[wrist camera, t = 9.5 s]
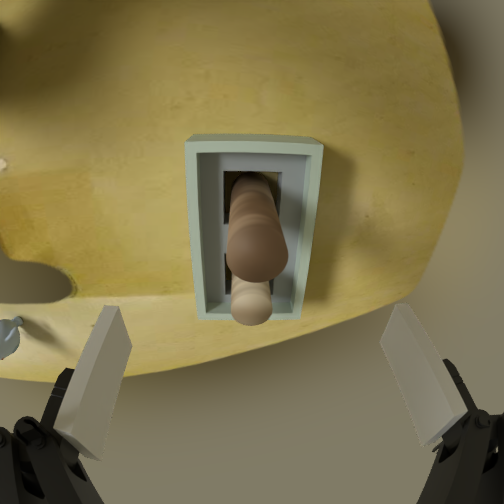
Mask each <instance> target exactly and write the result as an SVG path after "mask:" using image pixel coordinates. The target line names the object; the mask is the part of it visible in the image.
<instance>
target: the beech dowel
mask: <svg viewBox="0 0 504 504" xmlns="http://www.w3.org/2000/svg"><path fill="white" fill-rule="evenodd" d="M272 311H273V308H272V301H271V293H270V286H269V281H266V282H261V283H252V282H247V281H244V280H242V279H240V278H238V277H237V276H235V275H234V274H233V273H232V287H231V315H232V317H233V318H234V319H235V320H236V321H237V322H239V323H241V324H243V325H248V326H254V325H259V324H262V323H264V322H265V321H267V320H268V319H269V318H270V316H271V315H272Z"/></svg>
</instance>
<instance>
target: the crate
mask: <svg viewBox="0 0 504 504" xmlns="http://www.w3.org/2000/svg"><path fill="white" fill-rule="evenodd" d="M323 147H324V145H323V144H321V143H319V142H318V141H316V140H315V139H313V138H312V137H303V136H288V135H267V134H193V135H192V136H191V137H190V138H189V139H187V140H186V141H185V166H186V188H187V205H188V220H189V234H190V246H191V258H192V269H193V279H194V289H195V298H196V307H197V315H198V319H201V320H235V319H234V318H233V317H232V315H231V287H232V280H226V253H227V240H228V227H229V215H230V213H225V171H269V172H278V185H277V200H276V210H277V214H278V217H279V221H280V224H281V228H282V231H283V235H284V238H285V242H286V245H287V249H288V254H289V255H288V262H287V265H286V267H285V268H284V270H283V271H282V272H281V273H280V274H279V275H278V276H277V277H275V278H273V279H272V280H269V286H270V293H271V301H272V308H273V311H272V315H271V316H270V318H269V319H268V320H289V319H300V316H301V310H302V305H303V299H304V293H305V287H306V281H307V275H308V268H309V262H310V255H311V248H312V241H313V234H314V227H315V219H316V211H317V203H318V195H319V186H320V177H321V168H322V158H323Z"/></svg>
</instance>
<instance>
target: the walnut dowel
mask: <svg viewBox="0 0 504 504" xmlns="http://www.w3.org/2000/svg"><path fill="white" fill-rule="evenodd" d="M288 255H289V254H288V249H287V245H286V242H285V238H284V235H283V231H282V228H281V224H280V221H279V217H278V214H277V210H276V207H275V204H274V200H273V197H272V194H271V190H270V187H269V184H268V181H267V179H266V178H265V177H264V176H263V175H262V174H260V173H258V172H254V171H248V172H244V173H241V174H240V175H239V176H237V177H236V179H235V180H234V182H233V184H232V192H231V204H230V215H229V227H228V240H227V253H226V260H227V264H228V267H229V269H230V270H231V272H232V273H233V274H234V275H235V276H237V277H238V278H240V279H242V280H244V281H247V282H252V283H261V282H266V281H269V280H272V279H273V278H275V277H277V276H278V275H279V274H280V273H281V272H282V271H283V270H284V268H285V267H286V265H287V262H288Z"/></svg>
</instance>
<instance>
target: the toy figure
mask: <svg viewBox="0 0 504 504" xmlns="http://www.w3.org/2000/svg"><path fill="white" fill-rule="evenodd" d="M22 324H23V321H22V319H21V318H20V317H14V319H12V320H8V319H2V320H0V360H3V359H4V358H5V357H7V356H9V355H10V354H12V353H14V352H15V351H16V350H17V348H18V346H19V343H20V333H19V330H18V326H19V325H22Z"/></svg>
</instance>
